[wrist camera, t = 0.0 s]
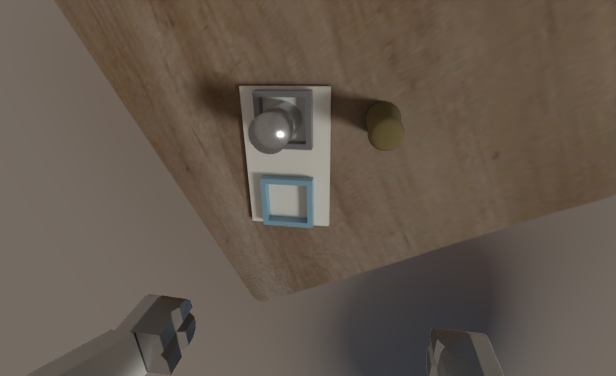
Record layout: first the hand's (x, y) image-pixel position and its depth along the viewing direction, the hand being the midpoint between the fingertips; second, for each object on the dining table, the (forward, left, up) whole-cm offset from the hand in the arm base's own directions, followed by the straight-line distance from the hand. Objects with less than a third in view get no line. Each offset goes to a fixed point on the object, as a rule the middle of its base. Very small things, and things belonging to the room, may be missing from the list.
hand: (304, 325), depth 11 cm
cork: (+3, +5, -48) cm, 49 cm away
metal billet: (+3, -12, -47) cm, 49 cm away
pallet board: (+11, -12, -48) cm, 51 cm away
